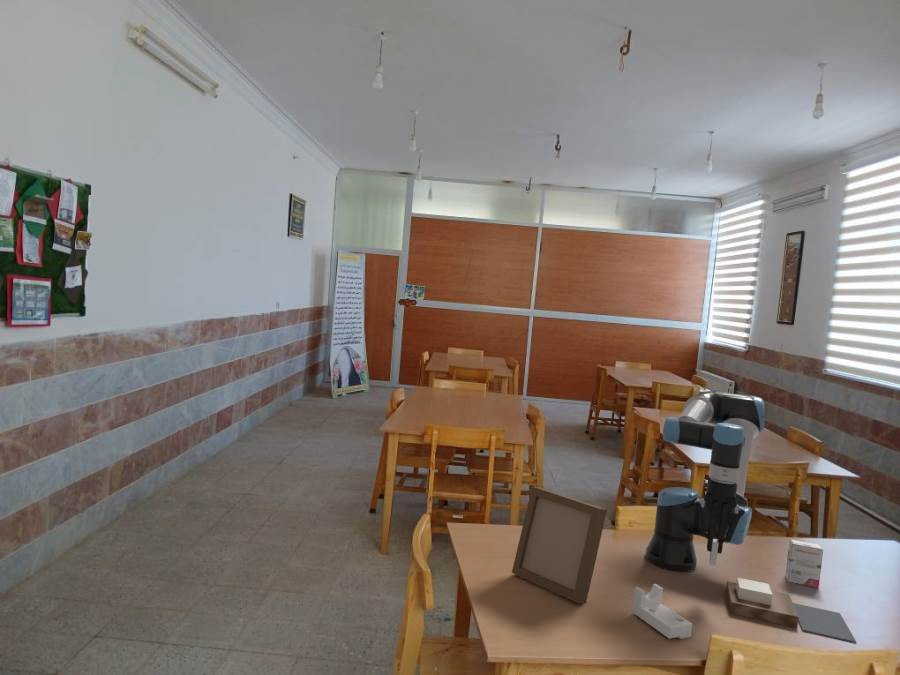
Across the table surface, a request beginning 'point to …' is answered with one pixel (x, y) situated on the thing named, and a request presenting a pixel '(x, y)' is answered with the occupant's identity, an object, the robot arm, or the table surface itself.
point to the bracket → (659, 613)
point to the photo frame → (559, 543)
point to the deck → (764, 607)
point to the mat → (823, 623)
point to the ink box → (804, 563)
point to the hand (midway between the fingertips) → (712, 563)
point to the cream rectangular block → (753, 591)
